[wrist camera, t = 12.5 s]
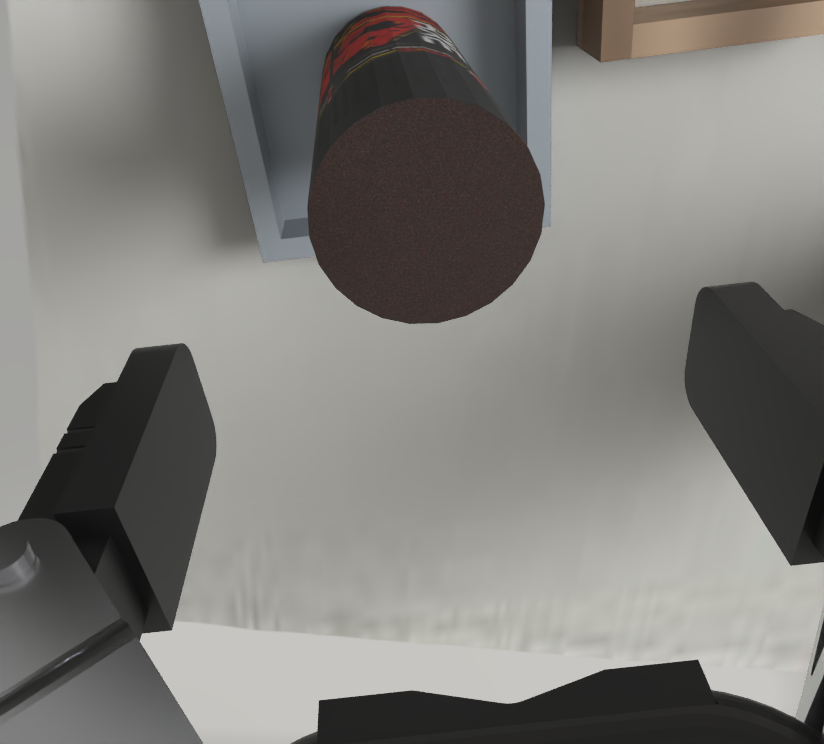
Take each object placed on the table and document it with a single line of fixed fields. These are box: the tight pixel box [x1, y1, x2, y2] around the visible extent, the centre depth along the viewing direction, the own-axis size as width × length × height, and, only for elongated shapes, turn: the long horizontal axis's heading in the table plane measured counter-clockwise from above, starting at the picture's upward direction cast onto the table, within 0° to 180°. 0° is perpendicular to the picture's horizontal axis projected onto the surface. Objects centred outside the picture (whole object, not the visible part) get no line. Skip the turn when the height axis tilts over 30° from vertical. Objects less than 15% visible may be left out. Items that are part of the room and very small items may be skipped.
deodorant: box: [307, 6, 545, 324], centre depth 24 cm, size 6×6×15 cm
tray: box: [199, 0, 552, 263], centre depth 29 cm, size 13×13×3 cm
